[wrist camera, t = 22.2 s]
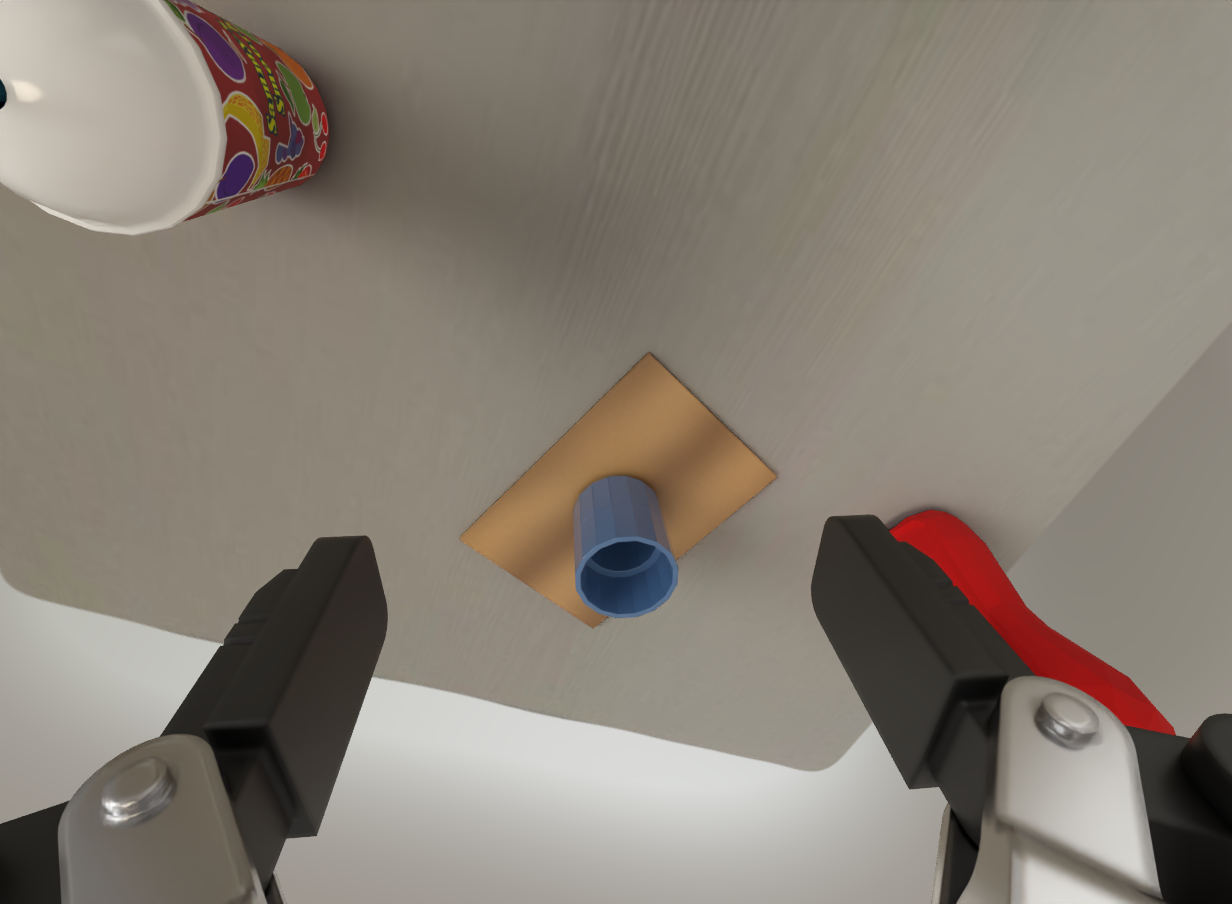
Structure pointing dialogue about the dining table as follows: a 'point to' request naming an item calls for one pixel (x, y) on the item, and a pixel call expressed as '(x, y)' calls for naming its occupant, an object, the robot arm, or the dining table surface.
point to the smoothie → (148, 113)
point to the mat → (620, 446)
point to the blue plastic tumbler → (622, 548)
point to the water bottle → (1024, 618)
